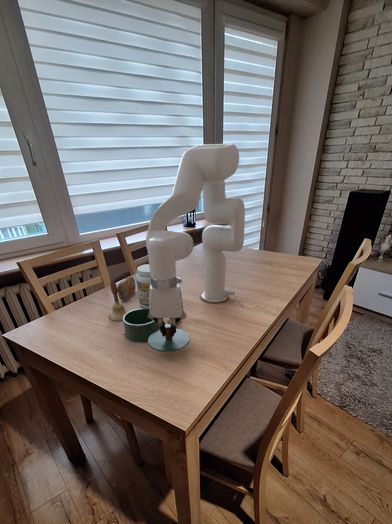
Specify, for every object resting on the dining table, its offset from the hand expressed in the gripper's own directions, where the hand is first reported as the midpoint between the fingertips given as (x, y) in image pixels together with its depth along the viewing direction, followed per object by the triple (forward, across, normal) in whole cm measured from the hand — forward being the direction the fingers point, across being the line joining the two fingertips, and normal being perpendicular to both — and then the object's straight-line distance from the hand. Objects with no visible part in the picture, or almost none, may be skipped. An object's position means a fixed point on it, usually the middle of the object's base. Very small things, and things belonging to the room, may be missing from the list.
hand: (168, 334), depth 92 cm
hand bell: (+7, +25, -24) cm, 35 cm away
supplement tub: (+6, +13, -36) cm, 39 cm away
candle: (+6, +1, -20) cm, 21 cm away
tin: (+6, +27, -44) cm, 52 cm away
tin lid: (+2, 0, 0) cm, 2 cm away
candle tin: (+6, +12, -11) cm, 18 cm away
